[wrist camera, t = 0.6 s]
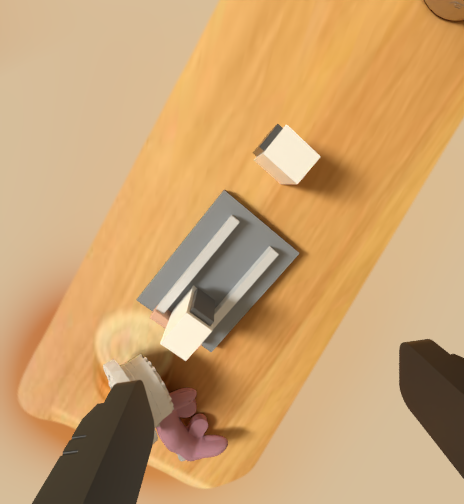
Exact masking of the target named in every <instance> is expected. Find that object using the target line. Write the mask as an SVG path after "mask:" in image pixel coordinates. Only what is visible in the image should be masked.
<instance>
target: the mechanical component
mask: <svg viewBox="0 0 464 504" xmlns="http://www.w3.org/2000/svg"><path fill="white" fill-rule="evenodd" d="M103 368H104V371H105V373H106V376H107V378H108V380H109V386H110V388H111V389H112V387H113V386H114V384H116V383H121V382H128V381H135V380H141V381H142V382H143V384H144V386H145V390H146V393H147V397H148V401H149V404H150V408H151V411H152V415H153V419H154V440H153V443H155V442H156V441H157V439H158V437H157V433H156V431H155V428H156V427H157V424H159V423H160V422H161V421H162V420H163V419H164V418H165V417H167V416H168V415H169V414H170V413H172V410H174V407H173V402H172V401H171V400H172V398H171V397H170V395H169V392H168V390H167V388H166V386H165V384H164V382H163V381H162V379H161V377H160V375H159V374H158V372H157V371H156V369H155V368H154V367H153V366H152V364H151V362H150V361H148V359H147V358H146V357H144V358H143V356H142V355H141V354H140V355H139V356H136V357H135V358H133V359H131V360H130V361H128V362H127V363H126V364H124V365H121V366H119V364H118V363H117V362H116V361H115V360H114V359H112V360H111V361H109V362H107V363H105V364H104V365H103Z"/></svg>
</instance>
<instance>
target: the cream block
mask: <svg viewBox="0 0 464 504" xmlns="http://www.w3.org/2000/svg"><path fill="white" fill-rule="evenodd" d="M253 153H254V154H255V155H256V156H257V157H256V158H255V159H254V161H255V162H256V163H257V164H258V165H260V166H261V167H262V168H263V169H264V170H265V171H266V172H267V173H269V174H270V175H271V176H272V177H273V178H274V179H275V180H277V181H278V182H279V183H280V184H298V183H299V182H300V181H301V179H302V178H303V177H304V176H305V175H306V174H307V172H308V171H309V170H310V169H311V168H312V167H313V165H314V164H315V163H316V162H317V161H318V159H319V158H320V157H321V156H320V155H319V154H317V153H316V152H315V151H314V150H313V149H312V148H311V147H310V146H309V145H308V144H307V143H306V142H305V141H304V140H303V139H302V138H301V137H299V136H298V135H297V134H296V133H295V132H294V131H293V130H292V129H291V128H290V127H289V126H288V125H285V126H284V127H283V128H282V127H281V126H280V125H279V124H277V125H276V126H275V127H274V128H273V129H272V130H271V131H270V132H269V133H268V134H267V136H266V137H265V138H264V139H263V141H262V142H261V143H260V144H259V146H258V147H257V148H256V149H255V151H254V152H253Z"/></svg>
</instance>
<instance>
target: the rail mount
mask: <svg viewBox="0 0 464 504" xmlns="http://www.w3.org/2000/svg"><path fill="white" fill-rule="evenodd" d="M299 254H300V253H299V252H298V251H296V250H295V249H294V248H293V247H292V246H290V245H289V244H288V243H287V242H286V241H284V240H283V239H282V238H281V237H280V236H278V235H277V234H276V233H275V232H274V231H273V230H271V229H270V228H269V227H268V226H267V225H265V224H264V223H263V222H262V221H261V220H259V219H258V218H257V217H256V216H255V215H253V214H252V213H251V212H250V211H249V210H248V209H246V208H245V207H244V206H243V205H242V204H240V203H239V202H238V201H237V200H236V199H234V198H233V197H232V196H231V195H230V194H228V193H227V192H226V191H225V190H224V191H223V192H222V193H221V194H220V196H219V197H218V198H217V199H216V201H215V202H214V203H213V204H212V206H211V207H210V208H209V209H208V211H207V212H206V213H205V214H204V216H203V217H202V218H201V219H200V221H199V222H198V223H197V224H196V226H195V227H194V228H193V229H192V231H191V232H190V233H189V234H188V236H187V237H186V238H185V239H184V241H183V242H182V243H181V244H180V246H179V247H178V248H177V249H176V251H175V252H174V253H173V254H172V256H171V257H170V258H169V259H168V261H167V262H166V263H165V264H164V266H163V267H162V268H161V269H160V271H159V272H158V273H157V274H156V276H155V277H154V278H153V279H152V281H151V282H150V283H149V284H148V286H147V287H146V288H145V289H144V291H143V292H142V293H141V294H140V296H139V297H138V298H137V301H138V302H140V303H141V304H143V305H144V306H146V307H147V308H148V309H150V310H151V311H153V312H152V314H151V316H150V318H151V319H152V320H154V321H155V322H157V323H158V324H159V325H161V326H162V327H164V328H165V332H164V334H163V337H162V340H161V342H160V344H161V345H163V346H164V347H166V348H167V349H169V350H170V351H172V352H173V353H174V354H176V355H177V356H179V357H180V358H182V359H183V360H185V361H187V359H188V358H189V357H190V356H191V355H192V354H193V353H194V351H195V350H197V349H198V348H199V347H200V346H201V345H202V346H203V347H204V348H206V349H207V350H209V351H210V352H212V351H213V350H214V349H215V348H216V347H217V345H218V344H219V343H220V342H221V341H222V340H223V339H224V338H225V336H226V335H227V334H228V333H229V332H230V331H231V330H232V329H233V328H234V326H235V325H236V324H237V323H238V322H239V321H240V320H241V319H242V317H243V316H244V315H245V314H246V313H247V312H248V311H249V310H250V308H251V307H252V306H253V305H254V304H255V303H256V302H257V301H258V299H259V298H260V297H261V296H262V295H263V294H264V293H265V292H266V291H267V289H268V288H269V287H270V286H271V285H272V284H273V283H274V282H275V280H276V279H277V278H278V277H279V276H280V275H281V274H282V273H283V271H284V270H285V269H286V268H287V267H288V266H289V265H290V264H291V263H292V261H293V260H294V259H295V258H296V257H297V256H298V255H299Z"/></svg>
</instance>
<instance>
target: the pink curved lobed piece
mask: <svg viewBox="0 0 464 504" xmlns="http://www.w3.org/2000/svg"><path fill="white" fill-rule="evenodd" d="M169 395H170V397H171V398H172V400H171V401H172V402H173V407H174V410H172V413H170V414H169V415H168V416H167V417H165V418H164V419H163V420H162V421H161V422H160V423H159V424H157V427H156V428H157V432H158V435H159V437H160V439H161V440H162V442H163V443H164V445H165V446H166V447H167V448H168V449H169V450H170V451H172V452H174V453H176V454H177V455H178V458H179V460H180V461H185V460H187V461H194V460H198V459H202V458H207V457H213V456H217V455H219V454H221V453H222V452H223V451H224V450H225V449H226V447H227V445H228V441H227V439H226V438H225V437H223V436H220V435H204V433H205V432H206V430H207V428H208V422H207V418H206V416H205V415H203V414H196V415H194V416H193V417H192V418H191V420H190V422H189V425H188V426H187V427H186V426H185V425H184V424H183V423H182V422H181V420H180V418H179V417H183V418H187V417H190V416H192V415H193V414H195V412H196V401H195V397H196V395H197V392H196V390H195V389H193V388H181V389H178V390H176V391H173V392H171V393H169Z"/></svg>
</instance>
